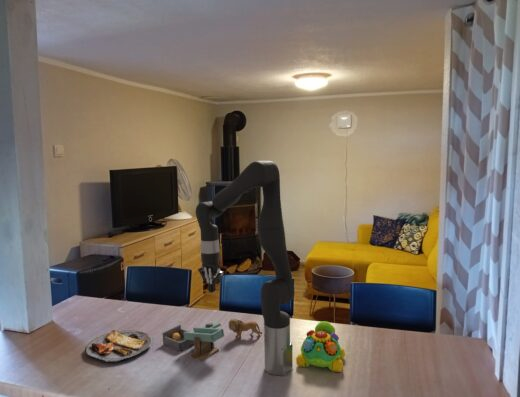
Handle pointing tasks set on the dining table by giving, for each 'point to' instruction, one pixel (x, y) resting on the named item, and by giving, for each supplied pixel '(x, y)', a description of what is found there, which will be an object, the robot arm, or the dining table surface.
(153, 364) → the dining table surface
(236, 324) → the lion figurine
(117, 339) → the food plate
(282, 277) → the robot arm
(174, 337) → the ball
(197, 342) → the fulcrum
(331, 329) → the turtle toy
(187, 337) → the lever
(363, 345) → the dining table surface
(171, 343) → the tray
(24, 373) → the dining table surface
